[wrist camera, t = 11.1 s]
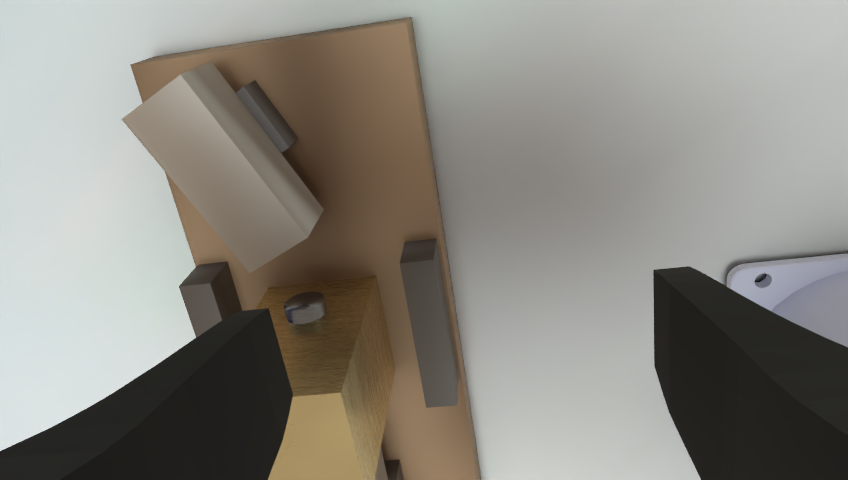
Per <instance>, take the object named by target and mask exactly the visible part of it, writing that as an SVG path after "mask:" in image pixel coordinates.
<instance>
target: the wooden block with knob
mask: <svg viewBox="0 0 848 480" xmlns="http://www.w3.org/2000/svg"><path fill="white" fill-rule="evenodd" d="M265 308H269V311H270V315H271V318H272V322H273V325H274V329H275V332H276V336H277V339H278V343H279V346H280V350H281V354H282V357H283V361H284V364H285V368H286V371H287V375H288V378H289V382H290V385H291V389H292V393H293V398H292V403H291V407H290V412H289V417H288V421H287V425H286V429H285V433H284V437H283V441H282V444H281V446H280V449H279V452H278V454H277V457H276V459H275V462H274V465H273V467H272V470H271V472H270V475H269V478H268V480H375V475H376V470H377V465H378V460H379V454H380V449H381V444H382V438H383V433H384V428H385V422H386V417H387V412H388V407H389V401H390V396H391V391H392V385H393V380H394V375H395V370H396V368H395V364H394V359H393V354H392V349H391V345H390V340H389V335H388V330H387V325H386V321H385V316H384V311H383V306H382V302H381V297H380V292H379V287H378V282H377V278H376V276H368V277H359V278H350V279H341V280H332V281H323V282H314V283H304V284H295V285H286V286H277V287H268V289H267V291H266V292H265V294H264V295H263V297H262V299H261V300H260V302H259V304H258V305H257V307H256V309H265Z"/></svg>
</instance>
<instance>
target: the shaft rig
mask: <svg viewBox="0 0 848 480" xmlns="http://www.w3.org/2000/svg"><path fill="white" fill-rule="evenodd" d="M131 68H132V71H133V74H134V77H135V80H136V83H137V86H138V89H139V93H140V96H141V99H142V102H143V103H142V104H141V105H140V106H138V107H137V108H136V109H134V110H133V111H132V112H131V113H129V114H128V115H127V116H125V117H124V118H123V119H122V120H123V122H124V123H125V124H126V125H127V126H128V128H129V129H130V130H131V131H132V132H133V134H134V135H135V136H136V137H137V138H138V140H139V141H140V142H141V143H142V144H143V146H144V147H145V148H146V149H147V150H148V152H149V153H150V154H151V155H152V156H153V158H154V159H155V160H156V161H157V162H158V164H159V165H160V166H161V167H162V168H163V170H164V171H165V173H166V176H167V179H168V182H169V185H170V188H171V191H172V194H173V197H174V201H175V204H176V207H177V210H178V213H179V216H180V219H181V222H182V225H183V228H184V231H185V234H186V238H187V241H188V244H189V247H190V250H191V253H192V256H193V259H194V262H195V265H196V268H195V269H194V270H193V271H192V272H191V273H190V275H189V276H188V277H187V278H186V279H185V280H184V281H183V283H182V284H181V285H180V286H179V288H180V291H181V294H182V297H183V300H184V303H185V306H186V309H187V311H188V314H189V317H190V320H191V323H192V326H193V329H194V332H195V335H196V338H197V337H198V336H200V335H201V334H202V333H204V332H205V331H207V330H208V329H210V328H211V327H213V326H214V325H216V324H217V323H219V322H220V321H222V320H224V319H225V318H227V317H229V316H230V315H232V314H234V313H236V312H238V311H245V310H255V309H256V307H257V305H258V304H259V302H260V300H261V299H262V297H263V295H264V294H265V292H266V291H267V289H268V287H277V286H286V285H295V284H304V283H314V282H323V281H332V280H341V279H350V278H359V277H368V276H376V278H377V282H378V287H379V292H380V297H381V302H382V306H383V311H384V316H385V321H386V325H387V330H388V335H389V340H390V345H391V349H392V354H393V359H394V364H395V368H396V370H395V375H394V380H393V385H392V391H391V396H390V401H389V407H388V412H387V417H386V422H385V428H384V433H383V438H382V444H381V449H380V454H379V460H378V465H377V470H376V475H375V480H481V475H480V469H479V462H478V455H477V449H476V442H475V436H474V429H473V422H472V416H471V409H470V402H469V396H468V389H467V383H466V376H465V369H464V363H463V356H462V349H461V343H460V336H459V330H458V323H457V316H456V310H455V303H454V296H453V290H452V283H451V277H450V270H449V263H448V257H447V250H446V243H445V237H444V230H443V224H442V217H441V210H440V204H439V197H438V190H437V184H436V177H435V171H434V164H433V157H432V151H431V144H430V137H429V131H428V124H427V118H426V111H425V104H424V98H423V91H422V84H421V78H420V71H419V65H418V58H417V51H416V45H415V38H414V31H413V25H412V18H411V17H410V18H403V19H397V20H390V21H384V22H377V23H371V24H364V25H358V26H351V27H345V28H338V29H332V30H325V31H319V32H312V33H306V34H299V35H293V36H286V37H280V38H273V39H267V40H260V41H254V42H247V43H241V44H234V45H228V46H221V47H215V48H208V49H202V50H195V51H189V52H182V53H176V54H169V55H163V56H156V57H152V58H149V59H146V60H143V61H140V62H137V63H134V64H131Z"/></svg>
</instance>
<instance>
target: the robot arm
mask: <svg viewBox="0 0 848 480" xmlns="http://www.w3.org/2000/svg"><path fill="white" fill-rule="evenodd" d="M763 273H765V274H767V276H766V278H765V279H764V280H763V281H761V282H754V281H755V279H756V277H757V276H758V275H760V274H763ZM654 358H655V369H656V372H657V375H658V378H659V382H660V385H661V388H662V392H663V395H664V398H665V401H666V404H667V407H668V410H669V413H670V415H671V417H672V419H673V421H674V424H675V426H676V428H677V430H678V432H679V434H680V436H681V438H682V441H683V443H684V445H685V447H686V449H687V451H688V453H689V455H690V457H691V459H692V462H693V464H694V466H695V468H696V470H697V472H698V474H699V476H700V478H701V480H848V253H847V254H837V255H827V256H816V257H806V258H796V259H786V260H776V261H766V262H756V263H745V264H740V265H737V266H735V267H734V268H732V269H731V271H730V272H729V273H728V276H727V286H725V285H723V284H721V283H719V282H718V281H716V280H714V279H712V278H711V277H709V276H707V275H705V274H703V273H701V272H700V271H698V270H696V269H693V268H691V267H679V268H669V269H659V270H654ZM292 398H293V393H292V389H291V385H290V382H289V378H288V375H287V371H286V368H285V364H284V361H283V357H282V354H281V350H280V346H279V343H278V339H277V336H276V332H275V329H274V325H273V322H272V318H271V315H270V311H269V308H265V309H255V310H245V311H238V312H236V313H234V314H232V315H230V316H229V317H227V318H225V319H224V320H222V321H220V322H219V323H217V324H216V325H214V326H213V327H211V328H210V329H208V330H207V331H205V332H204V333H202V334H201V335H200V336H198V337H197V338H195V339H194V340H192V341H191V342H189V343H188V344H187V345H185V346H184V347H182V348H181V349H179V350H178V351H176V352H175V353H174V354H172V355H171V356H169V357H168V358H166V359H165V360H163V361H162V362H161V363H159V364H158V365H156V366H154V367H153V368H151V369H150V370H148V371H147V372H145V373H144V374H142V375H141V376H139V377H137V378H136V379H134V380H133V381H131V382H130V383H128V384H127V385H125V386H123V387H122V388H120V389H119V390H117V391H116V392H114V393H113V394H111V395H109V396H108V397H106V398H104V399H103V400H101V401H99V402H97V403H96V404H94V405H92V406H90V407H89V408H87V409H85V410H83V411H81V412H79V413H78V414H76V415H74V416H72V417H70V418H68V419H66V420H65V421H63V422H61V423H59V424H57V425H55V426H53V427H51V428H49V429H47V430H45V431H43V432H41V433H39V434H37V435H34V436H32V437H30V438H28V439H26V440H24V441H21V442H19V443H17V444H15V445H13V446H11V447H8V448H6V449H4V450H2V451H0V480H268V478H269V475H270V472H271V470H272V467H273V465H274V462H275V459H276V457H277V454H278V452H279V449H280V446H281V444H282V441H283V437H284V433H285V429H286V425H287V421H288V417H289V412H290V407H291V403H292Z"/></svg>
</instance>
